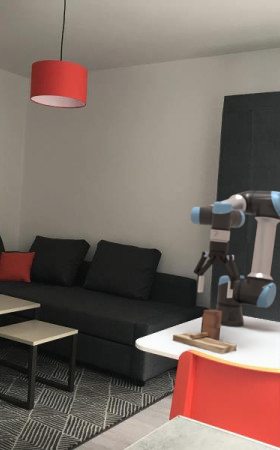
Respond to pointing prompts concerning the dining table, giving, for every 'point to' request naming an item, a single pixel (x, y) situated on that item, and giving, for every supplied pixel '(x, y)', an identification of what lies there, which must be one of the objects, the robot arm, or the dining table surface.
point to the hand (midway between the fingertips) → (214, 294)
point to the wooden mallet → (210, 325)
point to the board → (205, 343)
